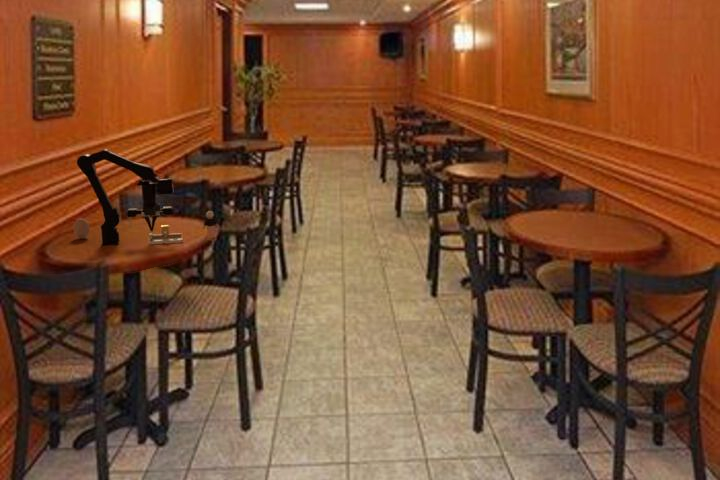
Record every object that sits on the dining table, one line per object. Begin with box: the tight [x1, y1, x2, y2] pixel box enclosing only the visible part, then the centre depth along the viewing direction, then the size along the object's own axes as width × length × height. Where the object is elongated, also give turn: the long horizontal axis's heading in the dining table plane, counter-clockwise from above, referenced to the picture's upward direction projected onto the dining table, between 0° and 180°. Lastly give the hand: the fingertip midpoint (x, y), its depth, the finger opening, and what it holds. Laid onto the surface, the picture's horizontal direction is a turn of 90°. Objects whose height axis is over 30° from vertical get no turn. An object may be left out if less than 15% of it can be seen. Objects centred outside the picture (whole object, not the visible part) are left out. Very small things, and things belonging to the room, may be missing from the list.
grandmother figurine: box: [202, 210, 220, 241], centre depth 331 cm, size 8×4×13 cm, turn 141°
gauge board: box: [148, 232, 184, 245], centre depth 330 cm, size 14×10×3 cm
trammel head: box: [160, 224, 170, 239], centre depth 329 cm, size 3×6×5 cm, turn 14°
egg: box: [73, 217, 90, 240], centre depth 336 cm, size 7×7×9 cm
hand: (151, 231), depth 329 cm, fingers closed
